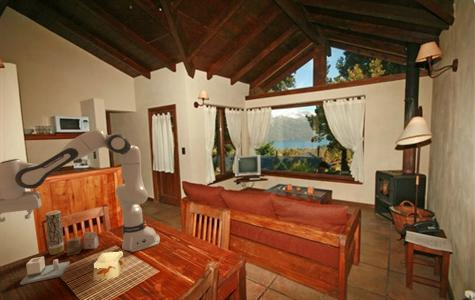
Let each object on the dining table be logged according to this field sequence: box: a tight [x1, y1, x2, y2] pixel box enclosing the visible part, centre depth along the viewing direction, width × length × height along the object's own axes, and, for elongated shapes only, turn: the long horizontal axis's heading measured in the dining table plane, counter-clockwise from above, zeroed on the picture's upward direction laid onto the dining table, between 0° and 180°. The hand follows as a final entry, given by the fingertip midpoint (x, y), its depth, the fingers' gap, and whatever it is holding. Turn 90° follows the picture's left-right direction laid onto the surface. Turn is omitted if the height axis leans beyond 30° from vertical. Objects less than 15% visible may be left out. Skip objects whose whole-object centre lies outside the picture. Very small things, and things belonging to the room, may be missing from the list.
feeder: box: [66, 236, 83, 256], centre depth 127 cm, size 6×5×8 cm
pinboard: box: [19, 258, 71, 286], centre depth 109 cm, size 16×11×6 cm
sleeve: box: [26, 255, 46, 278], centre depth 107 cm, size 5×5×7 cm
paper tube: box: [45, 209, 65, 256], centre depth 127 cm, size 7×7×25 cm
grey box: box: [82, 231, 99, 250], centre depth 133 cm, size 4×7×10 cm, turn 93°
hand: (15, 220), depth 104 cm, fingers open, 8 cm apart
